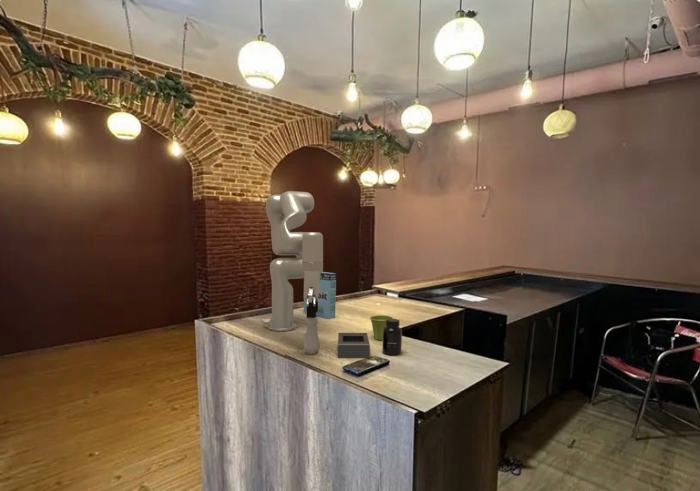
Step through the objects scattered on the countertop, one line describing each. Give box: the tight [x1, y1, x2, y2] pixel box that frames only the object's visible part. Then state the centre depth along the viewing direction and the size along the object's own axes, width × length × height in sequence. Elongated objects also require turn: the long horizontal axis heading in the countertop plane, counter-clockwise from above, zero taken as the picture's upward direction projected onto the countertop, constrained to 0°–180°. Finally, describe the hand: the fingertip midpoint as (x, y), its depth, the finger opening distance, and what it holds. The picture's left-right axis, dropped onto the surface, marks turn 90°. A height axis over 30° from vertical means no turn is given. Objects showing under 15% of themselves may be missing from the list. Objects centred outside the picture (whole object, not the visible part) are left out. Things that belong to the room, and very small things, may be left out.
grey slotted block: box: [337, 332, 371, 359], centre depth 133 cm, size 11×15×5 cm
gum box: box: [303, 271, 337, 320], centre depth 191 cm, size 20×5×23 cm, turn 48°
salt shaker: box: [303, 316, 321, 355], centre depth 131 cm, size 6×6×13 cm
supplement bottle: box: [382, 318, 403, 357], centre depth 132 cm, size 7×7×12 cm
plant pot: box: [369, 314, 394, 341], centre depth 150 cm, size 9×9×9 cm
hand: (312, 314), depth 130 cm, fingers open, 9 cm apart
